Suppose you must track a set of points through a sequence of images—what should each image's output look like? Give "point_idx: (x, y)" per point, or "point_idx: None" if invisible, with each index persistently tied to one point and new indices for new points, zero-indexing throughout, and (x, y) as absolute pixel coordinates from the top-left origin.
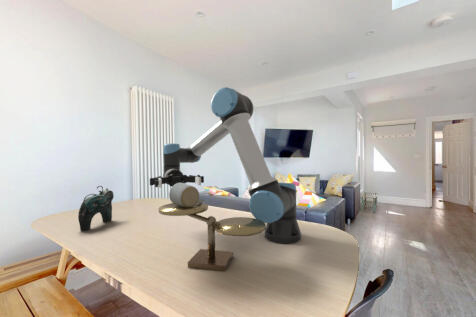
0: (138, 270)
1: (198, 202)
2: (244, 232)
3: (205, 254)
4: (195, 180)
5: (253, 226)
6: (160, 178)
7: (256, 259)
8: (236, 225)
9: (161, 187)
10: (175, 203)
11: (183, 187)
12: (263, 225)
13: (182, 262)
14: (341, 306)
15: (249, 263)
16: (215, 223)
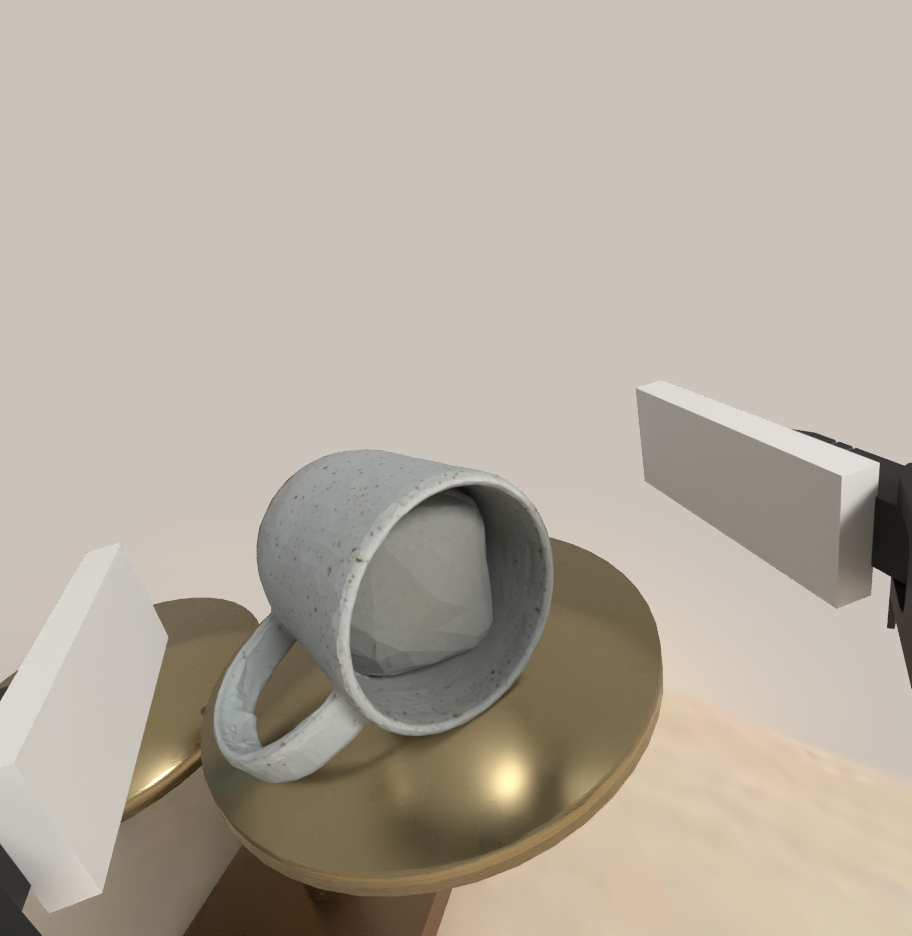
0: (741, 797)
1: (287, 647)
2: (166, 602)
3: (360, 911)
4: (71, 821)
5: None
6: (767, 440)
7: (82, 921)
8: None
9: (645, 479)
10: (495, 607)
11: (380, 450)
12: (11, 680)
13: (514, 890)
14: None
15: (148, 872)
16: None
